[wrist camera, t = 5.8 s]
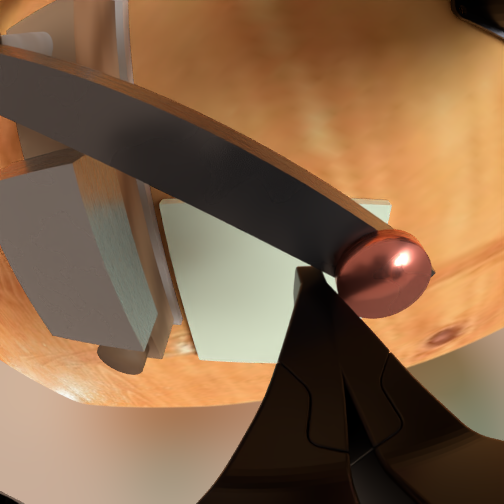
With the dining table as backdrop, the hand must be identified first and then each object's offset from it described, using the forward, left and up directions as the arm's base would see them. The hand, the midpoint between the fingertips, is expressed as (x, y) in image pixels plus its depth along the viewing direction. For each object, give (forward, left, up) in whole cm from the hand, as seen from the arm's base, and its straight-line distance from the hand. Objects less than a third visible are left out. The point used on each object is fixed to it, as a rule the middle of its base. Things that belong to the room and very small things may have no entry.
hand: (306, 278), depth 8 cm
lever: (+4, -4, 0) cm, 6 cm away
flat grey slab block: (+10, +1, -4) cm, 10 cm away
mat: (+1, +8, -8) cm, 11 cm away
